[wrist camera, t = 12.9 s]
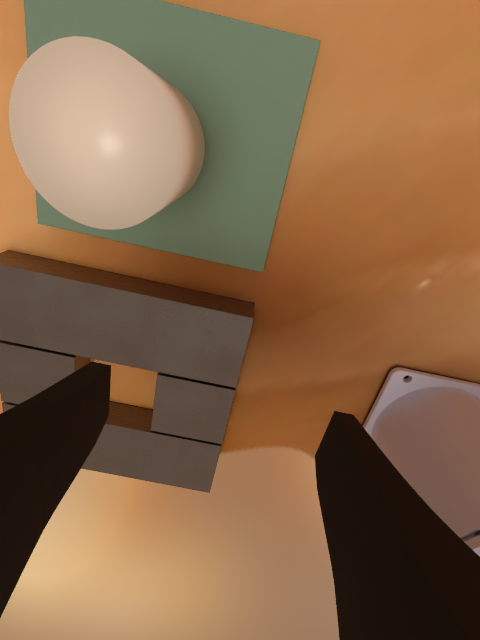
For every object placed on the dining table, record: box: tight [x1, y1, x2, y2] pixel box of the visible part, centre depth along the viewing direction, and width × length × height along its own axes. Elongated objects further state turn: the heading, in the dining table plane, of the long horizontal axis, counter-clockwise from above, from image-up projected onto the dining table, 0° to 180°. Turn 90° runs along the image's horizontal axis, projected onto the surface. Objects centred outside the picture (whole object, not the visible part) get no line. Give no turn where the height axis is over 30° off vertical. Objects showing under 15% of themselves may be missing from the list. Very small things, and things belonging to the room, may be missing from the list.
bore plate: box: [0, 250, 254, 492], centre depth 21 cm, size 14×14×2 cm
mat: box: [24, 0, 321, 273], centre depth 16 cm, size 12×10×1 cm
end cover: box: [9, 36, 205, 230], centre depth 12 cm, size 5×5×7 cm
